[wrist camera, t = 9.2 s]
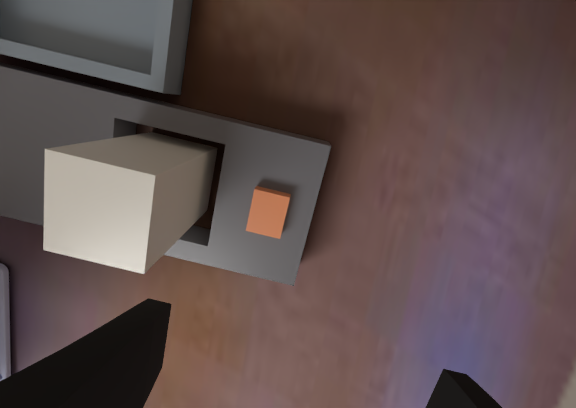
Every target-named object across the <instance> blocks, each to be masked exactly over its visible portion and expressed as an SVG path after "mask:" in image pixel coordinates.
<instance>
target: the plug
mask: <svg viewBox="0 0 576 408" xmlns="http://www.w3.org/2000/svg"><path fill="white" fill-rule="evenodd" d="M217 149H218V148H216V147H212V146H208V145H204V144H200V143H195V142H191V141H187V140H183V139H179V138H175V137H171V136H166V135H162V134H158V133H154V132H149V133H142V134H136V135H130V136H123V137H117V138H111V139H104V140H98V141H92V142H85V143H79V144H72V145H66V146H60V147H53V148H47V149H45V165H44V241H43V250H45V251H49V252H54V253H58V254H62V255H66V256H70V257H75V258H79V259H83V260H87V261H91V262H95V263H100V264H104V265H108V266H112V267H116V268H121V269H125V270H129V271H133V272H137V273H142V274H145V273H146V272H147V271H148V270H149V269H150V268H151V267H152V266H153V265H154V264H155V263H156V262H157V261H158V260H159V259H160V258H161V257H162V256H163V255H164V254H165V253H166V252H167V251H168V250H169V248H170V247H171V246H172V245H173V244H174V243H175V242H176V241H177V240H178V239H179V238H180V237H181V236H182V235H183V234H184V233H185V232H186V231H187V230H188V229H189V228H190V227H191V226H192V225H193V224H194V223H195V222H196V221H197V220H198V219H199V218H200V217H201V216H202V215H203V214H204V213H205V212H206V211H207V209H208V203H209V197H210V191H211V185H212V179H213V173H214V167H215V161H216V155H217Z"/></svg>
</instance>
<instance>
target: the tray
mask: <svg viewBox="0 0 576 408" xmlns="http://www.w3.org/2000/svg"><path fill="white" fill-rule="evenodd" d="M192 2H193V0H0V54H3V55H7V56H11V57H15V58H20V59H24V60H28V61H32V62H36V63H40V64H44V65H48V66H53V67H57V68H61V69H65V70H69V71H73V72H77V73H81V74H86V75H90V76H94V77H98V78H102V79H106V80H110V81H115V82H119V83H123V84H127V85H131V86H135V87H139V88H143V89H148V90H152V91H156V92H160V93H166V94H176V95H181V88H182V80H183V72H184V64H185V56H186V49H187V41H188V33H189V25H190V18H191V10H192Z"/></svg>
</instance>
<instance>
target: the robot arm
mask: <svg viewBox="0 0 576 408" xmlns="http://www.w3.org/2000/svg"><path fill="white" fill-rule="evenodd" d="M170 310H171V304H169V303H165V302H161V301H157V300H153V299H147V300H145V301H143V302H141V303H140V304H138V305H136V306H134V307H133V308H131V309H129V310H128V311H126V312H124V313H123V314H121V315H120V316H118V317H116V318H115V319H113V320H111V321H110V322H108V323H106V324H104V325H103V326H101V327H99V328H98V329H96V330H94V331H93V332H91V333H89V334H87V335H86V336H84V337H82V338H80V339H79V340H77V341H75V342H73V343H72V344H70V345H68V346H66V347H65V348H63V349H61V350H59V351H57V352H55V353H53V354H52V355H50V356H48V357H46V358H44V359H42V360H40V361H38V362H36V363H35V364H33V365H31V366H29V367H27V368H25V369H23V370H21V371H19V372H17V373H16V374H13V375H11V359H10V311H9V272H8V269H7V267H6V266H5V265H3V264H1V263H0V408H143V406H144V404H145V402H146V400H147V398H148V396H149V394H150V392H151V390H152V388H153V386H154V383H155V381H156V379H157V377H158V375H159V373H160V371H161V368H162V364H163V358H164V351H165V344H166V337H167V330H168V323H169V317H170ZM426 408H502V407H501V406H500V405H499V404H498V403H497V402H496V401H495V400H494V399H493V398H492V397H491V396H490V395H489V394H488V393H487V392H486V391H484V390H483V389H482V388H481V387H480V386H479V385H478V384H477V383H476V382H475V381H474V380H472V379H471V378H470V377H469V376H468V375H467V374H463V373H459V372H454V371H450V370H446V369H443V371H442V373H441V375H440V378H439V380H438V382H437V384H436V386H435V388H434V391H433V393H432V395H431V397H430V399H429V402H428V404H427V406H426Z"/></svg>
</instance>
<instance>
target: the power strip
mask: <svg viewBox="0 0 576 408" xmlns="http://www.w3.org/2000/svg"><path fill="white" fill-rule="evenodd" d="M137 123H139V124H143V125H147V126H151V127H155V128H159V129H164V130H168V131H172V132H176V133H180V134H184V135H188V136H193V137H197V138H201V139H205V140H209V141H213V142H217V143H222V144H226V145H225V151H224V156H223V162H222V168H221V173H220V179H219V185H218V191H217V196H216V202H215V208H214V214H213V219H212V225H211V229H207V228H203V227H198V226H194V225H192V226H191V227H190V228H189V229H188V230H187V231H186V232H185V233H184V234H183V235H182V236H181V237H180V238H179V239H178V240H177V241H176V242H175V243H174V244H173V245H172V246H171V247H170V248H169V250H168V251H167V252H166V253H165V254H164V255H167V256H171V257H175V258H179V259H184V260H188V261H192V262H196V263H200V264H205V265H209V266H213V267H217V268H221V269H225V270H230V271H234V272H238V273H242V274H246V275H251V276H255V277H259V278H263V279H267V280H271V281H276V282H280V283H284V284H288V285H292V286H294V283H295V279H296V275H297V272H298V268H299V264H300V261H301V257H302V253H303V249H304V246H305V242H306V238H307V234H308V231H309V227H310V223H311V220H312V216H313V212H314V208H315V205H316V201H317V197H318V193H319V190H320V186H321V182H322V179H323V175H324V171H325V167H326V164H327V160H328V156H329V152H330V149H331V145H330V143H329V142H328V141H324V140H320V139H316V138H312V137H308V136H303V135H299V134H295V133H291V132H287V131H283V130H279V129H274V128H270V127H266V126H262V125H258V124H254V123H250V122H246V121H241V120H237V119H233V118H229V117H225V116H221V115H217V114H212V113H208V112H204V111H200V110H196V109H192V108H188V107H184V106H179V105H175V104H171V103H167V102H163V101H159V100H155V99H150V98H146V97H142V96H138V95H134V94H130V93H126V92H122V91H117V90H113V89H109V88H105V87H101V86H97V85H93V84H88V83H84V82H80V81H76V80H72V79H68V78H64V77H60V76H55V75H51V74H47V73H43V72H39V71H35V70H31V69H26V68H22V67H18V66H14V65H10V64H6V63H2V62H0V216H4V217H8V218H12V219H17V220H21V221H25V222H29V223H33V224H37V225H42V226H44V165H45V149H47V148H53V147H60V146H66V145H72V144H79V143H85V142H92V141H98V140H104V139H111V138H117V137H123V136H130V135H136V125H137Z"/></svg>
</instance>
